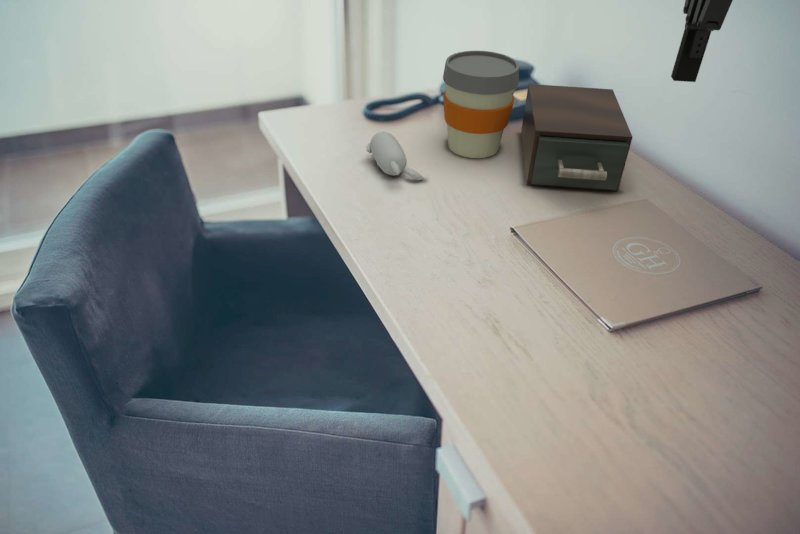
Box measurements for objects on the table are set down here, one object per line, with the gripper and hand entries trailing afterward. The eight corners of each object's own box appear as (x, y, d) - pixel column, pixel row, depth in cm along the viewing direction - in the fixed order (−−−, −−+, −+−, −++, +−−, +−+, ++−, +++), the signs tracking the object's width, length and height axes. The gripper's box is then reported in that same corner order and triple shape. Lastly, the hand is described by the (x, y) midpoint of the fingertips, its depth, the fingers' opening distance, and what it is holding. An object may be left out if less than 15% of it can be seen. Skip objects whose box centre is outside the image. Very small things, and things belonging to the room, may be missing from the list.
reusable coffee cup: (522, 146, 115) (536, 64, 105) (479, 170, 107) (489, 84, 98) (467, 124, 121) (475, 44, 112) (423, 145, 114) (428, 62, 105)
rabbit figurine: (357, 139, 107) (381, 183, 100) (381, 119, 106) (406, 162, 99) (378, 158, 112) (402, 202, 105) (401, 139, 111) (427, 182, 103)
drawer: (621, 204, 98) (634, 159, 94) (533, 198, 99) (541, 152, 94) (600, 140, 115) (610, 99, 111) (525, 135, 116) (532, 94, 112)
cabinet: (617, 191, 103) (632, 136, 97) (526, 184, 104) (535, 130, 98) (600, 139, 118) (612, 89, 112) (520, 133, 119) (528, 83, 113)
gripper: (809, -128, 63) (728, 101, 77) (763, -142, 73) (699, 62, 87) (730, -131, 63) (664, 97, 78) (695, -144, 73) (643, 59, 88)
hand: (683, 79), depth 83 cm, fingers closed
